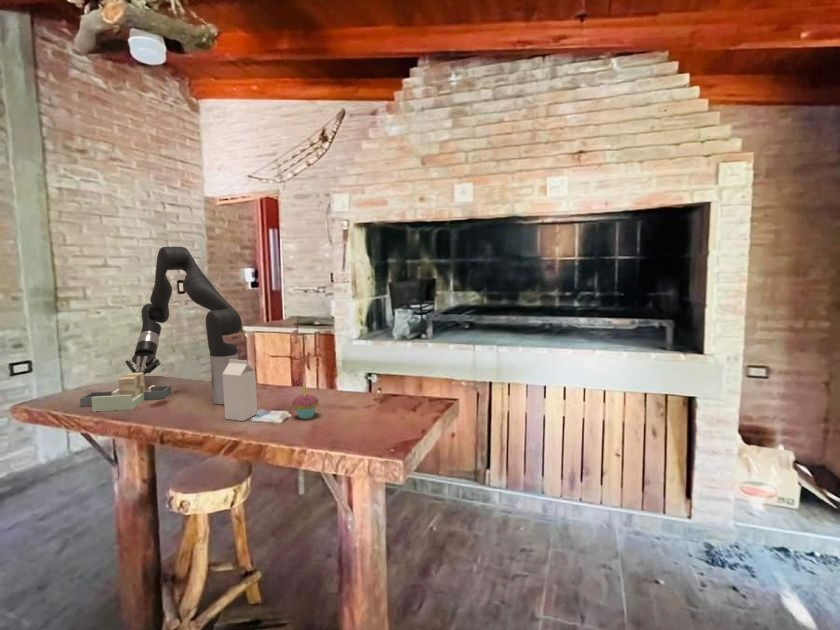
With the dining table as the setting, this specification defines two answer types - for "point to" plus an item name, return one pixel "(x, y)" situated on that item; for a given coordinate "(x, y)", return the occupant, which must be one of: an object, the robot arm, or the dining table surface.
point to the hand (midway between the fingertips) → (138, 381)
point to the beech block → (132, 384)
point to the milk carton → (239, 390)
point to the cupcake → (305, 405)
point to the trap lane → (122, 399)
